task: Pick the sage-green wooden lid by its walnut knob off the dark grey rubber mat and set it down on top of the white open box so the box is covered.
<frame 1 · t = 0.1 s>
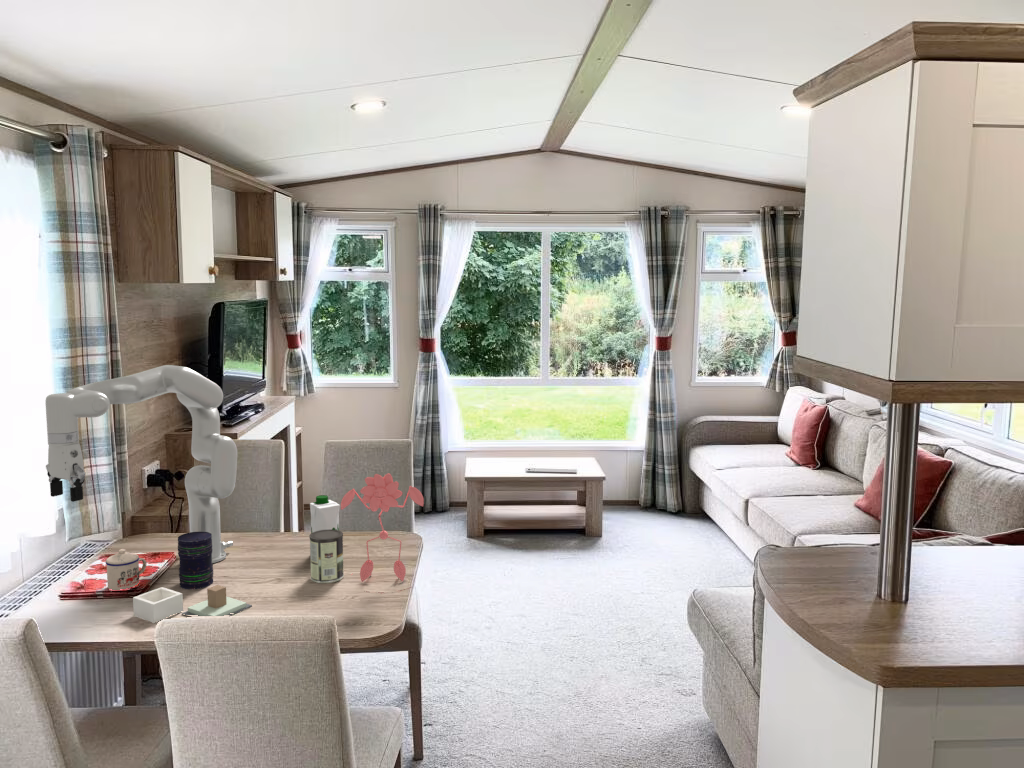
hand: (66, 498, 217), 31 cm above the table, fingers open, 9 cm apart
lid: (217, 609, 218), resting on mat
mat: (217, 610, 218), on the table
milk carton: (325, 555, 265), on the table
teacup with lid: (128, 586, 236), on the table
white open box: (158, 614, 216), on the table
figurine: (381, 584, 239), on the table
coffee can: (327, 578, 244), on the table
storage jar: (196, 584, 238), on the table
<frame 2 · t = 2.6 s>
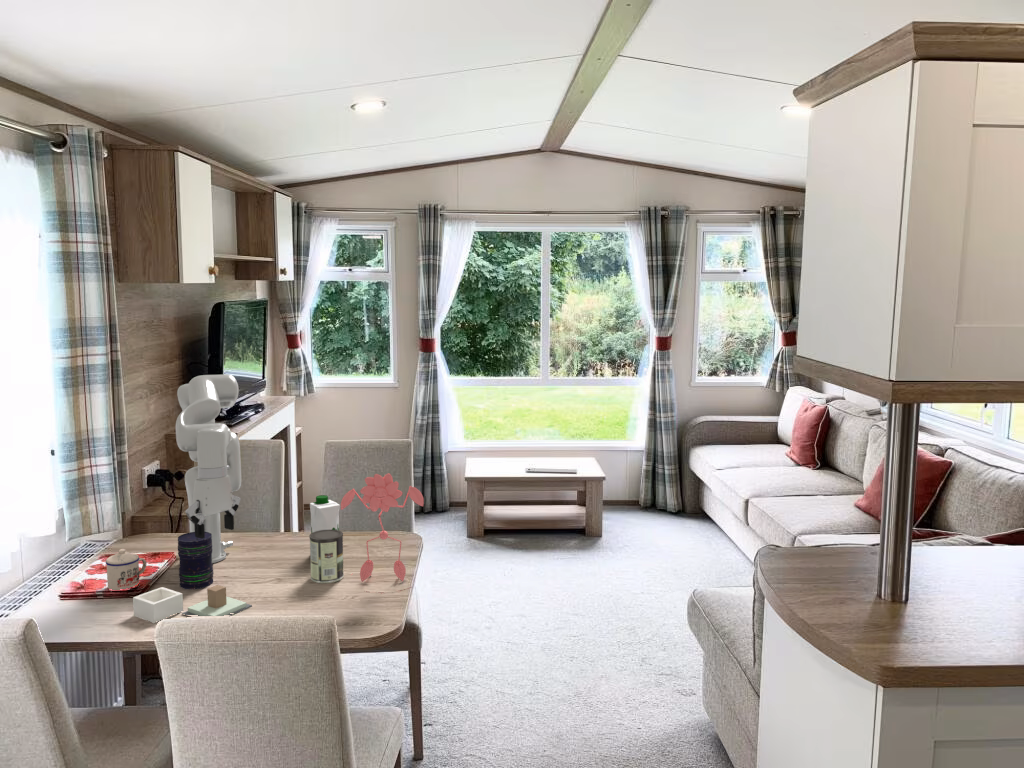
hand: (214, 533, 215), 23 cm above the table, fingers open, 9 cm apart
nothing on the table moved.
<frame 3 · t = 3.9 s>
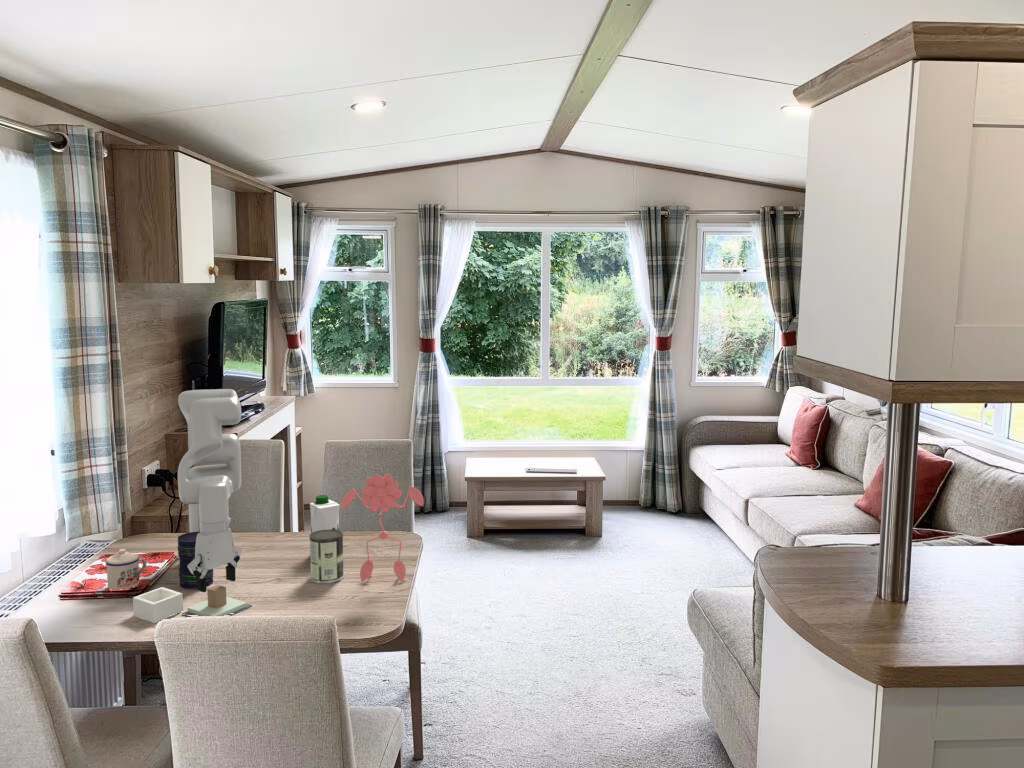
hand: (216, 585, 217), 7 cm above the table, fingers open, 9 cm apart
nothing on the table moved.
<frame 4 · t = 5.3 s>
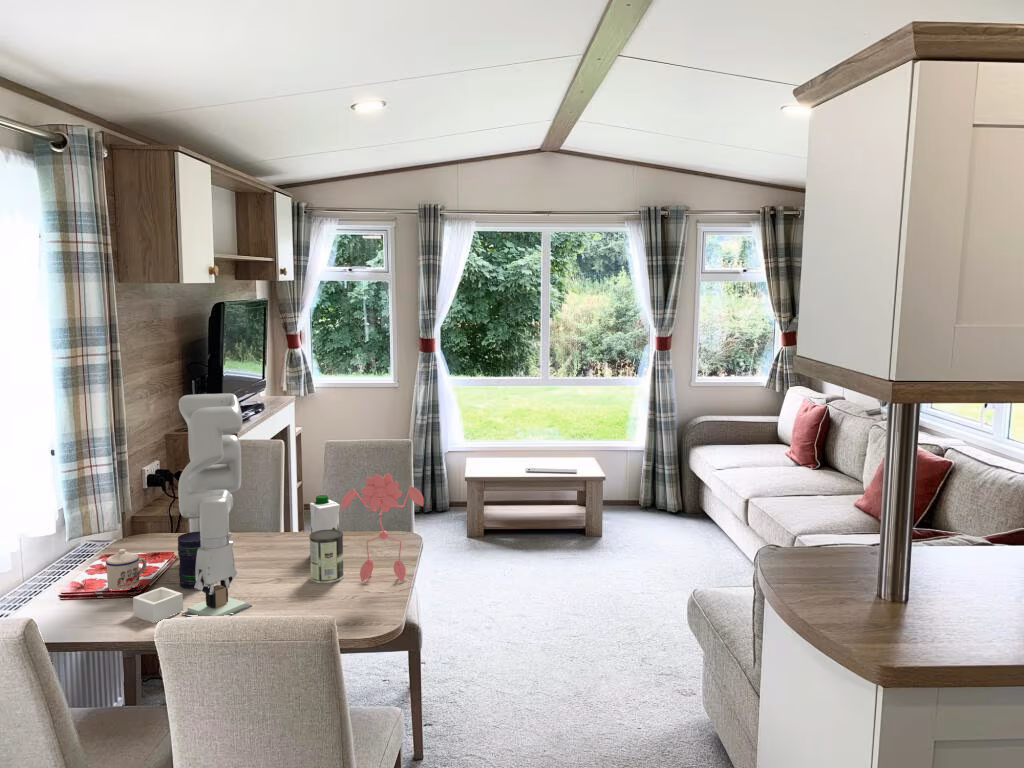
hand: (217, 603, 218), 2 cm above the table, fingers closed on lid, 3 cm apart
lid: (217, 609, 218), resting on mat, touching gripper
everything else where it was.
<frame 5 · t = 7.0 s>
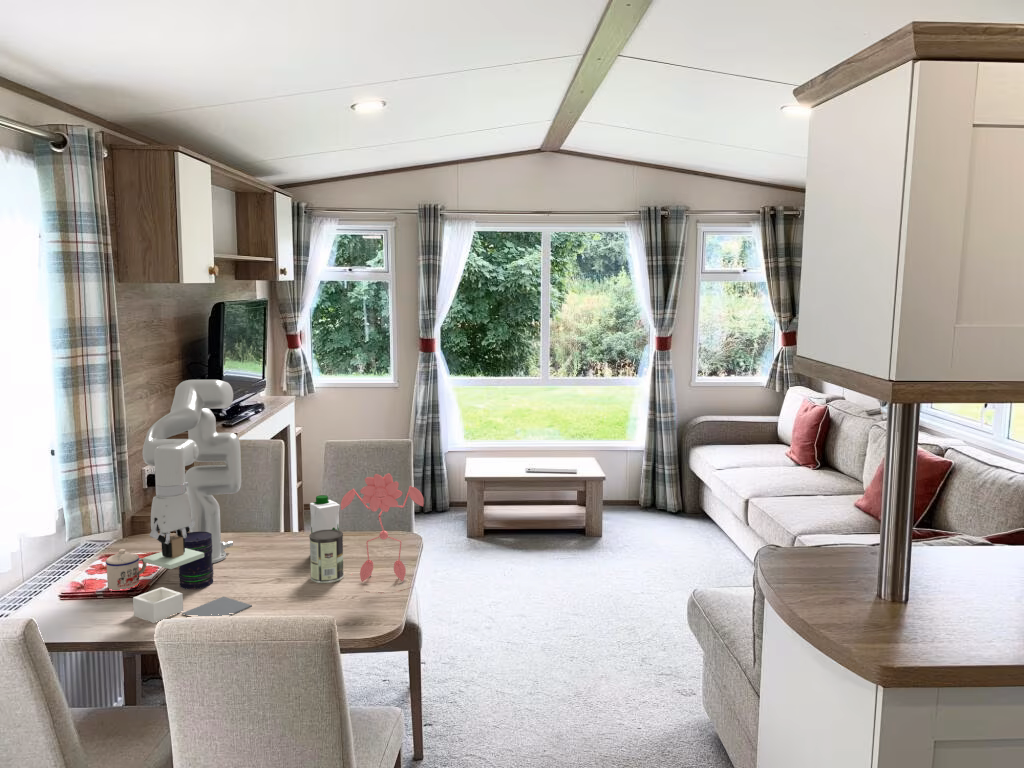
hand: (173, 553, 214), 17 cm above the table, fingers closed on lid, 3 cm apart
lid: (174, 559, 215), point 15 cm above the table, touching gripper
everything else where it was.
when the fingers open (8 cm above the table, at t = 8.7 s): lid drops 1 cm, point 5 cm above the table.
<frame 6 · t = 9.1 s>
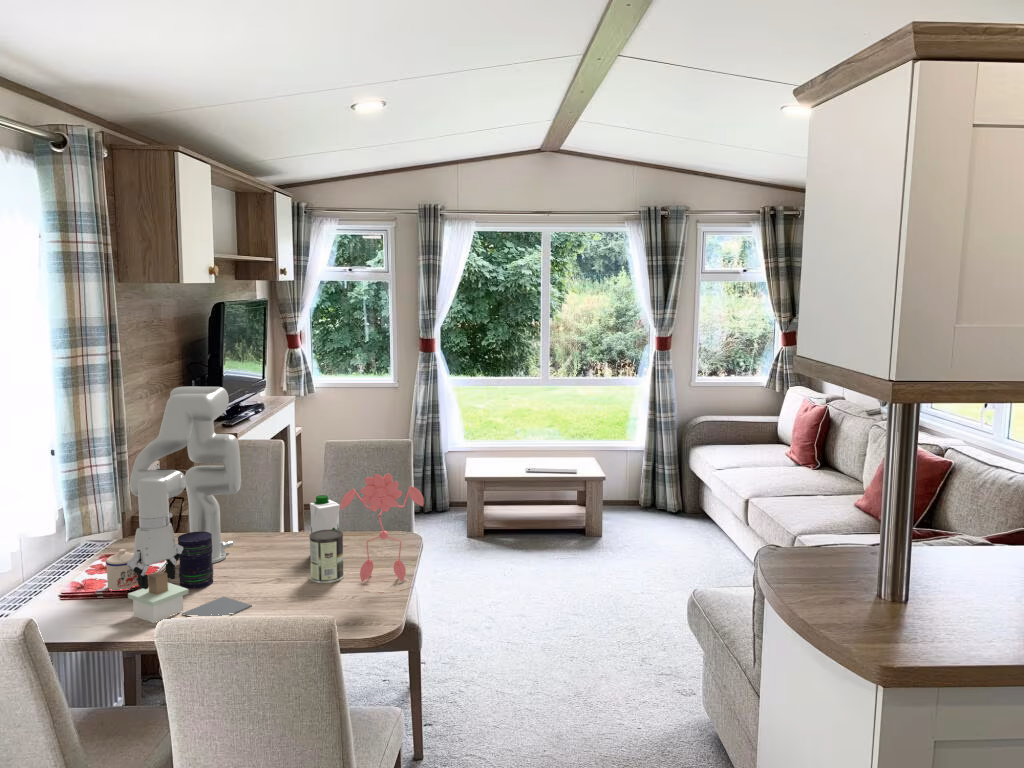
hand: (157, 582, 215), 9 cm above the table, fingers open, 7 cm apart
lid: (158, 595, 215), point 5 cm above the table
everything else where it was.
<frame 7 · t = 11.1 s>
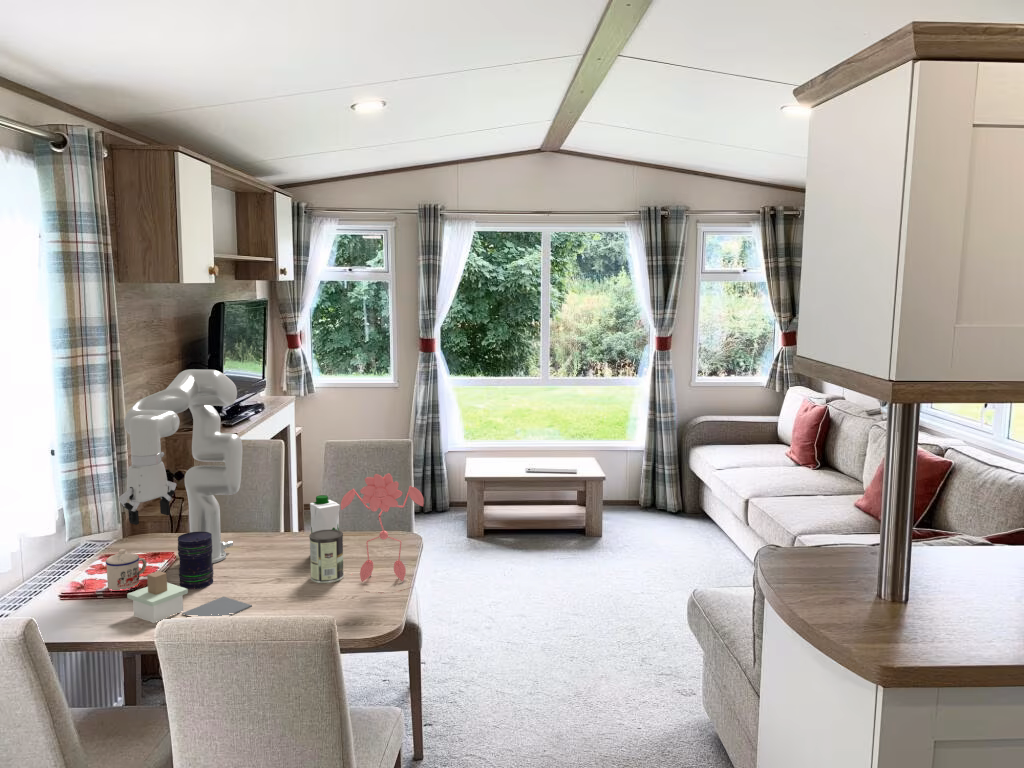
hand: (150, 519, 217), 26 cm above the table, fingers open, 9 cm apart
lid: (157, 595, 215), point 5 cm above the table, touching white open box
white open box: (158, 614, 216), on the table, touching lid
everything else where it was.
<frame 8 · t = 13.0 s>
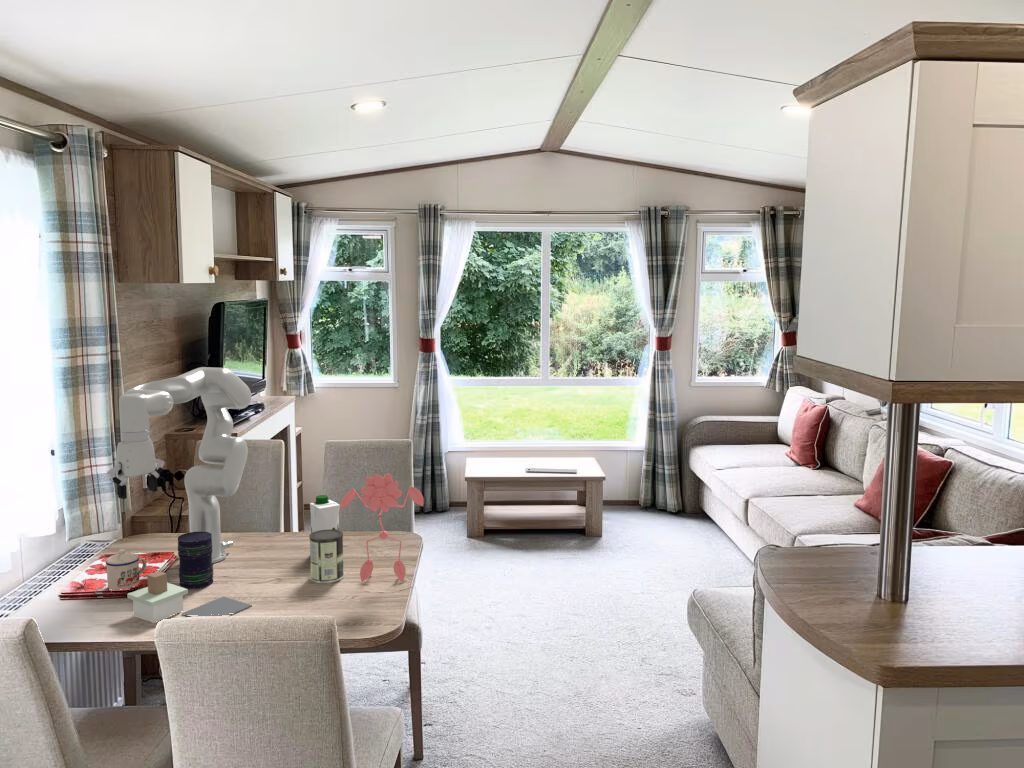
hand: (138, 494, 225), 30 cm above the table, fingers open, 9 cm apart
lid: (157, 595, 215), point 5 cm above the table
white open box: (158, 614, 216), on the table
everything else where it was.
at the end: lid 0.1 cm off-centre on the white open box, point 5.5 cm above the white open box's base; lid tilted 0°; the gripper is holding nothing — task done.
